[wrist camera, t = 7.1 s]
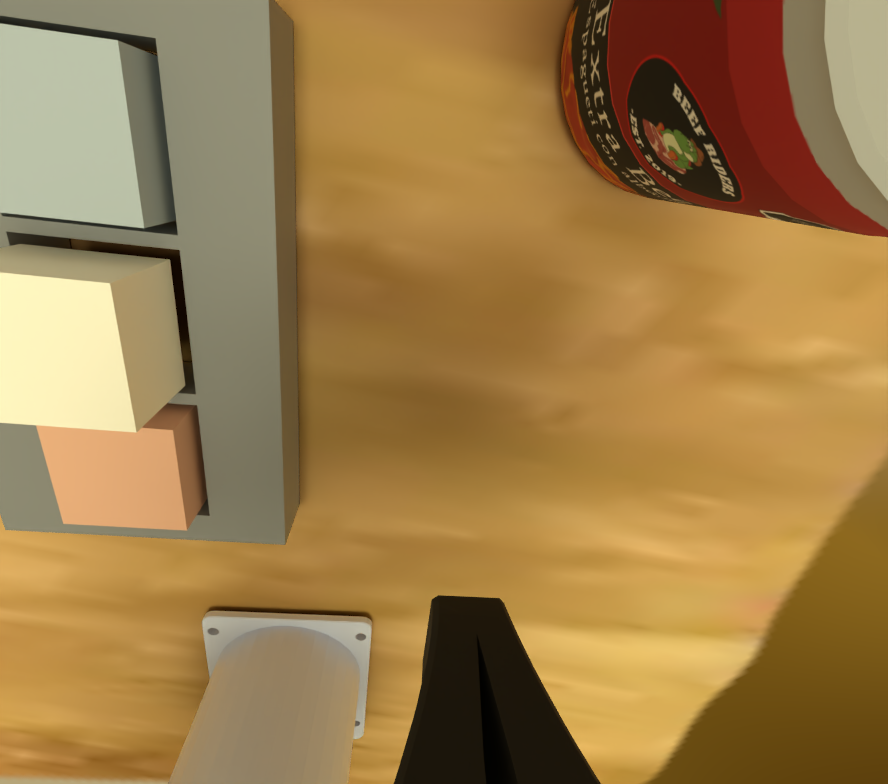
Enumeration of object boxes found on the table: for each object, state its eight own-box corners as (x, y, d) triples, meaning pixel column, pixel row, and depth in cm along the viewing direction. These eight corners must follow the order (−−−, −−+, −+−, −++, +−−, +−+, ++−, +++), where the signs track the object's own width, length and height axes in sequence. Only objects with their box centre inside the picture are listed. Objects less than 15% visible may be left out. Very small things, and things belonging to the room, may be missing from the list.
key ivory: (185, 385, 16) (136, 432, 13) (53, 374, 15) (-27, 420, 12) (169, 259, 14) (110, 283, 11) (20, 243, 14) (-80, 264, 11)
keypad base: (299, 503, 21) (285, 544, 19) (52, 488, 20) (5, 529, 18) (293, 21, 14) (268, -7, 11) (-95, -38, 13) (-205, -80, 10)
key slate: (193, 216, 15) (144, 228, 12) (56, 200, 15) (-25, 209, 12) (178, 64, 13) (117, 40, 11) (23, 43, 13) (-79, 12, 10)
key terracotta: (219, 478, 19) (186, 530, 17) (113, 472, 19) (63, 523, 16) (210, 388, 18) (173, 430, 15) (94, 379, 17) (34, 420, 15)
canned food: (502, 38, 14) (701, -253, 4) (757, -199, 12) (2216, -1743, 2) (629, 248, 17) (928, 373, 7) (853, 81, 15) (1699, -72, 5)
